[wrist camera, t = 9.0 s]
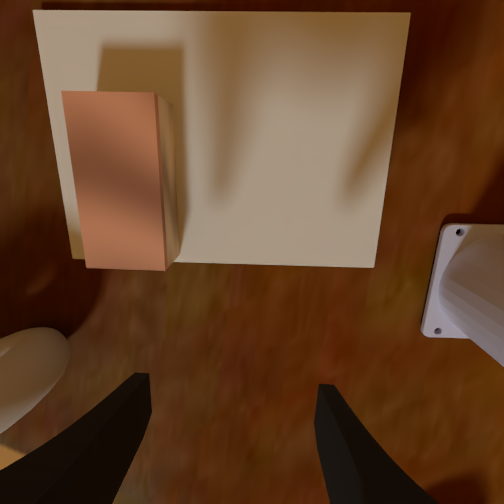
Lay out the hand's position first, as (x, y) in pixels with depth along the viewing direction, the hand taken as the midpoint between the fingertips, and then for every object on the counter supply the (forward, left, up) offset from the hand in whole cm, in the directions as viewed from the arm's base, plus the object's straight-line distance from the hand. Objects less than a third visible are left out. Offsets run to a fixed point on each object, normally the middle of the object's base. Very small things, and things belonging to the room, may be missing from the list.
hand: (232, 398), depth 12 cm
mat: (+2, -10, -9) cm, 14 cm away
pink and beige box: (+7, -8, -8) cm, 13 cm away
